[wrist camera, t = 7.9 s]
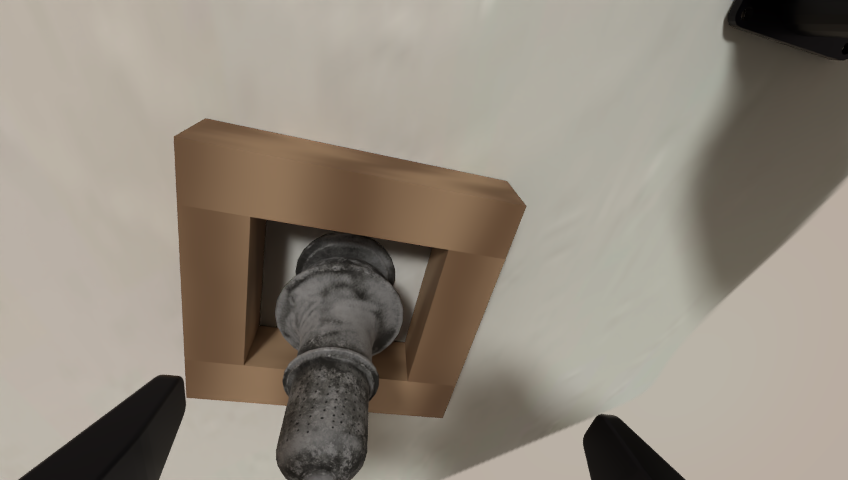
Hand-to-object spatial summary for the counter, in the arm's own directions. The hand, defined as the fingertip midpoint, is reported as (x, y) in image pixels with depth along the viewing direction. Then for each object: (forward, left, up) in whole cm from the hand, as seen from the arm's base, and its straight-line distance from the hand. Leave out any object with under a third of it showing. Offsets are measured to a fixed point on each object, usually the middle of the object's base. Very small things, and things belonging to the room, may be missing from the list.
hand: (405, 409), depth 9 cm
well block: (+1, +5, -13) cm, 14 cm away
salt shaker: (+1, +5, -13) cm, 14 cm away
